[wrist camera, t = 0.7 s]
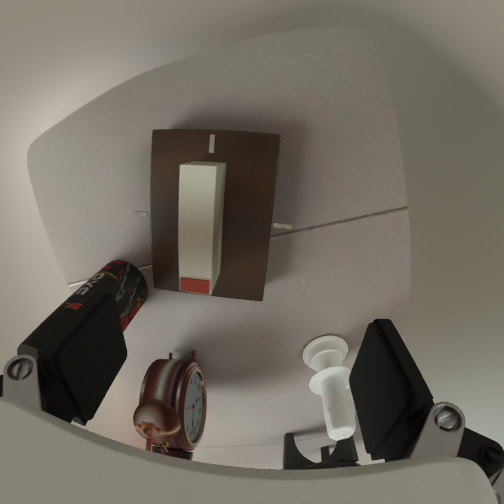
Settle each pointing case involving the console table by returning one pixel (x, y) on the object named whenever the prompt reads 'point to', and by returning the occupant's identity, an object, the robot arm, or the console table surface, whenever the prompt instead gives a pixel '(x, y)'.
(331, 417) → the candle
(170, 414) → the alarm clock
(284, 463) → the planter
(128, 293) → the deodorant
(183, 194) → the dial
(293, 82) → the console table surface
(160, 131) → the panel
